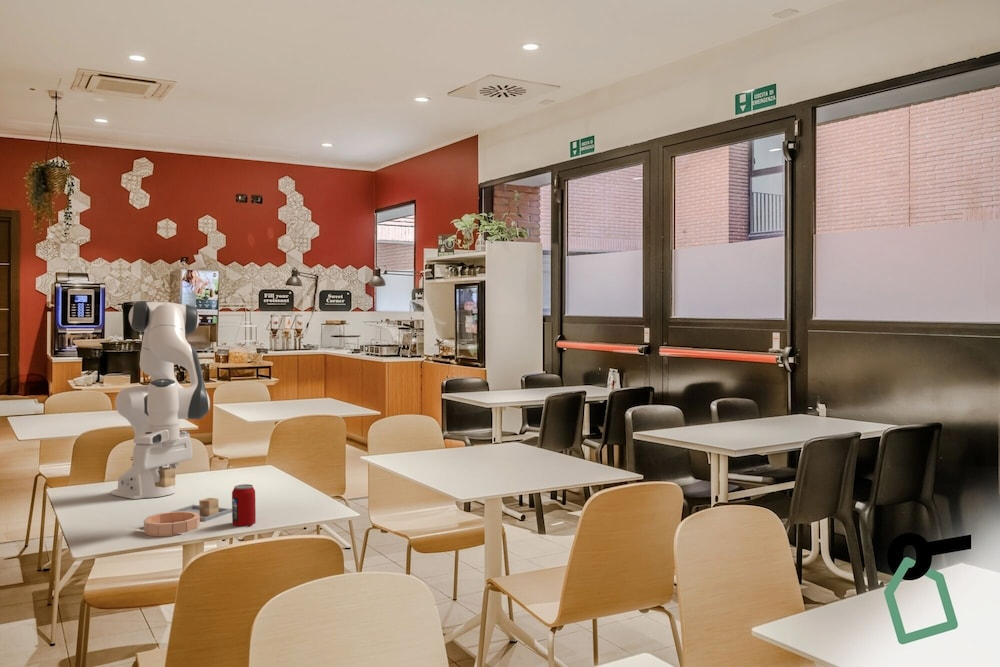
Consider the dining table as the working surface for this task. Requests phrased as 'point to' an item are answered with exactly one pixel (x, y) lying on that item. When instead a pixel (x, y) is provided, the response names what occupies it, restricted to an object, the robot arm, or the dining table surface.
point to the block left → (166, 477)
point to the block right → (208, 507)
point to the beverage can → (243, 505)
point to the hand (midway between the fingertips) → (164, 480)
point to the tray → (196, 509)
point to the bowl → (171, 523)
